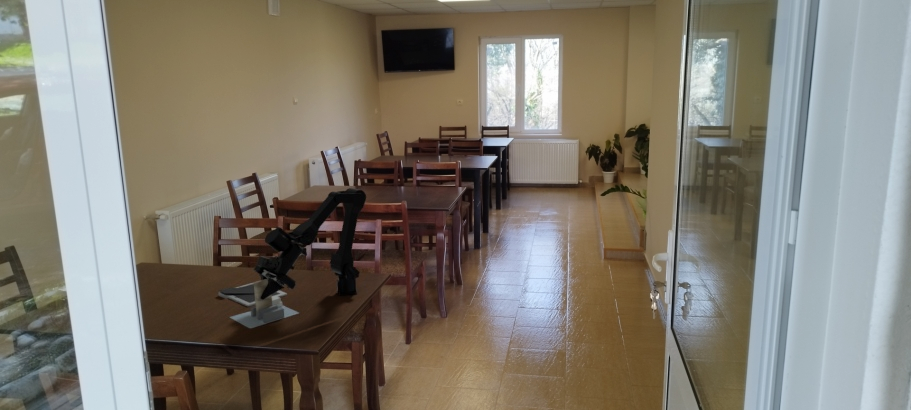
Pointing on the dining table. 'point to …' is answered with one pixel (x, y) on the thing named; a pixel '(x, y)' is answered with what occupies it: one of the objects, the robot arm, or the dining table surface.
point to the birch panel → (258, 290)
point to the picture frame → (244, 294)
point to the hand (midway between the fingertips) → (259, 298)
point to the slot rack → (263, 315)
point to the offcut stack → (276, 301)
